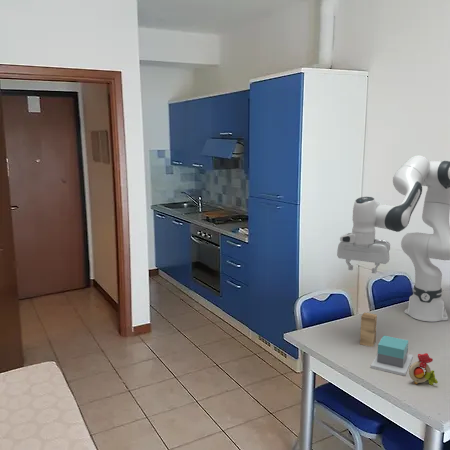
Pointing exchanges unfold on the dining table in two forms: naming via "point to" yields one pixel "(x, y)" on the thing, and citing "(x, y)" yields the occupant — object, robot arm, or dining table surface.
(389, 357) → the brick tower
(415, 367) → the bird rattle
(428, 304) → the robot arm
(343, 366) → the dining table surface
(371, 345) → the oak brick
